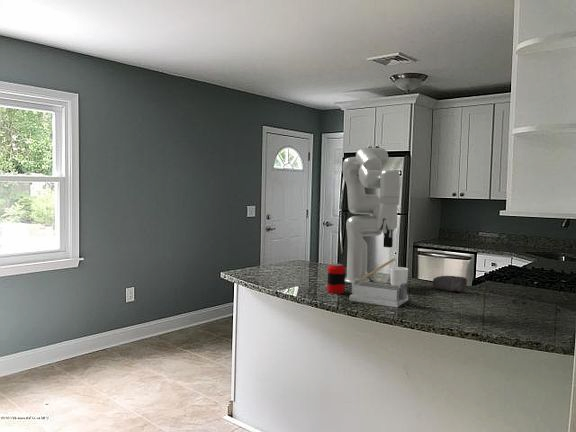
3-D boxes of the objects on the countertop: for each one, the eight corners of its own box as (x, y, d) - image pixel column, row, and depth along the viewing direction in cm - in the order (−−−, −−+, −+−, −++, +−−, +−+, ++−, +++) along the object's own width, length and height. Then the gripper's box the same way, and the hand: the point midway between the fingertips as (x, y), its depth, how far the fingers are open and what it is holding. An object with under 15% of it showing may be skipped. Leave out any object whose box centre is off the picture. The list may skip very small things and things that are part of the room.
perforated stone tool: (430, 289, 225) (430, 274, 224) (434, 287, 229) (434, 272, 228) (463, 294, 216) (464, 278, 215) (467, 292, 220) (467, 276, 220)
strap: (360, 281, 207) (358, 279, 207) (396, 260, 199) (394, 257, 199) (356, 283, 204) (355, 281, 204) (392, 261, 195) (391, 259, 196)
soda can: (343, 294, 211) (344, 266, 210) (326, 293, 212) (326, 265, 211) (345, 290, 218) (346, 263, 217) (328, 289, 220) (328, 262, 219)
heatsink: (359, 293, 213) (360, 275, 212) (410, 300, 202) (411, 281, 201) (346, 300, 201) (347, 280, 200) (399, 307, 190) (400, 287, 189)
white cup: (396, 292, 216) (396, 270, 215) (386, 289, 223) (386, 267, 222) (411, 291, 219) (412, 269, 218) (400, 288, 226) (401, 266, 225)
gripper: (386, 200, 205) (385, 244, 206) (373, 201, 192) (372, 248, 193) (404, 201, 201) (402, 246, 202) (392, 202, 188) (391, 249, 190)
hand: (387, 247), depth 198 cm, fingers closed
